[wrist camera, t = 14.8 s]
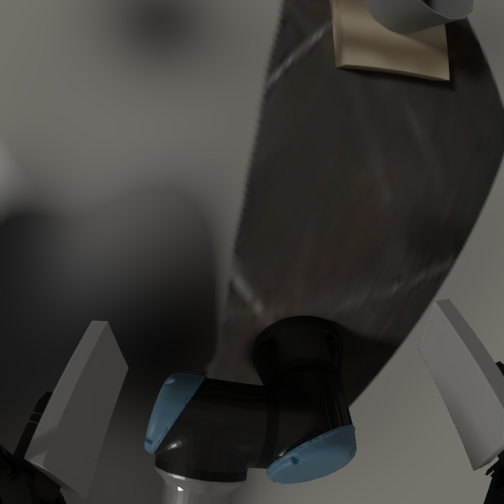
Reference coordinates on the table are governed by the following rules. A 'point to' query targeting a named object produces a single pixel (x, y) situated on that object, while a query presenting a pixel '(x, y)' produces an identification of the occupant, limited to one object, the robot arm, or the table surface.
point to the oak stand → (386, 45)
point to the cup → (416, 13)
